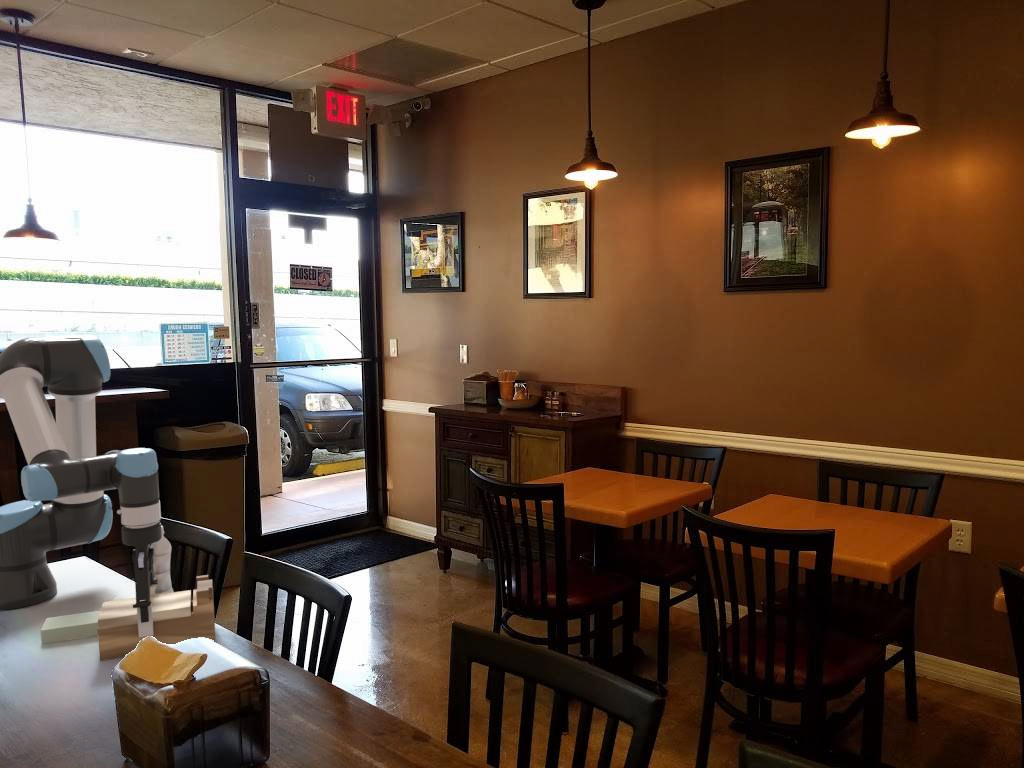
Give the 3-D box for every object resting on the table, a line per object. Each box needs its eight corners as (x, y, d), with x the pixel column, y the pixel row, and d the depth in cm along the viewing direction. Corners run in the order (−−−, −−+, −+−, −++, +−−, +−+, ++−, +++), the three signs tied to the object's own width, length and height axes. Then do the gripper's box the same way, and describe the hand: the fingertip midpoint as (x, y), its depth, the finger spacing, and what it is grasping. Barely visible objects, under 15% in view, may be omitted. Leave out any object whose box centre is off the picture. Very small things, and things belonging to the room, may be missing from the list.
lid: (104, 610, 166) (103, 601, 166) (191, 598, 172) (190, 590, 172) (98, 629, 157) (97, 620, 156) (190, 615, 163) (190, 606, 163)
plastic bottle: (140, 609, 184) (134, 527, 182) (169, 601, 189) (164, 521, 186) (148, 617, 179) (143, 533, 177) (179, 609, 184) (174, 527, 182)
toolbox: (104, 642, 166) (101, 588, 165) (214, 625, 175) (211, 574, 173) (99, 662, 157) (95, 605, 156) (215, 644, 165) (212, 589, 164)
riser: (47, 631, 173) (46, 618, 172) (113, 621, 177) (112, 608, 177) (41, 644, 166) (40, 630, 166) (109, 633, 171) (108, 620, 170)
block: (198, 591, 170) (197, 581, 170) (212, 589, 171) (212, 579, 171) (197, 600, 165) (197, 589, 165) (213, 598, 167) (212, 587, 166)
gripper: (126, 511, 171) (132, 608, 174) (115, 541, 150) (123, 651, 153) (163, 507, 174) (169, 603, 176) (158, 536, 153) (165, 644, 156)
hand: (147, 625), depth 165 cm, fingers closed on lid, 10 cm apart
